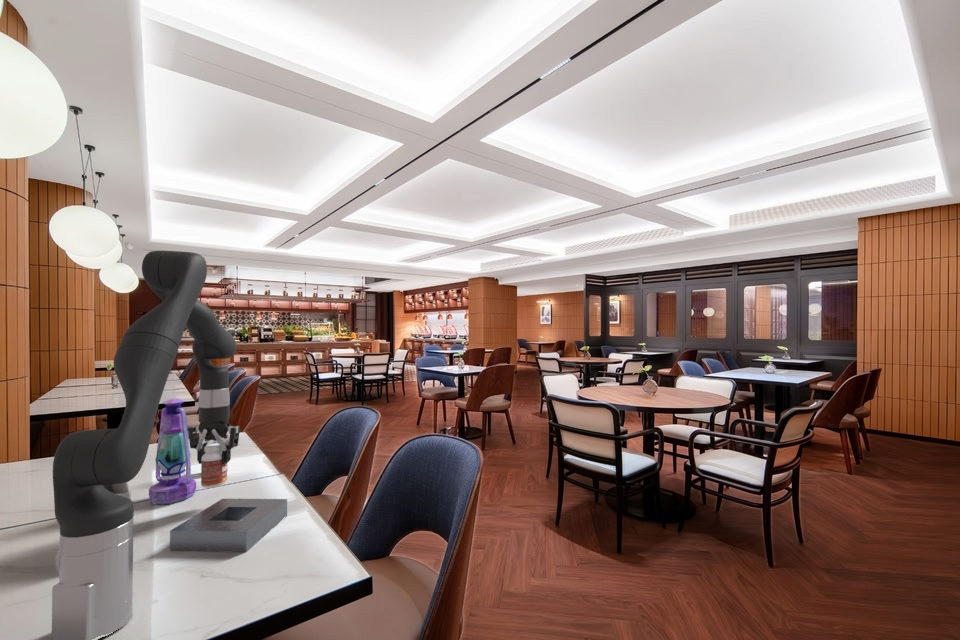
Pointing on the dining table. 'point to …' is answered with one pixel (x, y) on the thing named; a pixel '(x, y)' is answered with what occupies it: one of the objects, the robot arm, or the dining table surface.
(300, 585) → the dining table surface
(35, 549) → the dining table surface
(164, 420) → the lantern
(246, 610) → the dining table surface
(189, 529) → the bore housing
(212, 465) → the pill bottle
